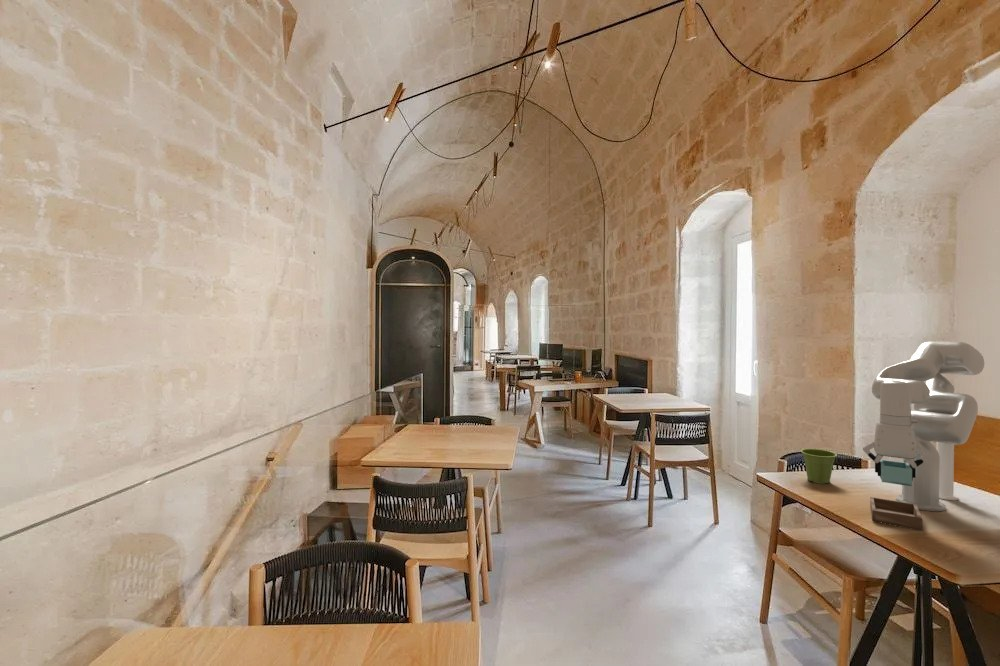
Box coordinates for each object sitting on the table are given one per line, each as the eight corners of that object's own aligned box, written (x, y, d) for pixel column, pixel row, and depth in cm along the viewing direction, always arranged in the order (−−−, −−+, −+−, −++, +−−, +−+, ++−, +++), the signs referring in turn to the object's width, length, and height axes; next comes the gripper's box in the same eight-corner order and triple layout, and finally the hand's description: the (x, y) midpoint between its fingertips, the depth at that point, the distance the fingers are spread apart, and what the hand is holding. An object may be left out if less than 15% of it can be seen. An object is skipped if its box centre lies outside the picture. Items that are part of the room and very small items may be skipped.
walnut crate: (870, 507, 160) (870, 496, 160) (916, 515, 154) (916, 504, 154) (872, 521, 149) (872, 510, 148) (922, 530, 142) (922, 518, 142)
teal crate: (879, 475, 156) (879, 459, 156) (907, 478, 152) (907, 463, 152) (882, 482, 148) (882, 465, 148) (911, 486, 144) (912, 469, 144)
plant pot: (794, 476, 194) (794, 448, 194) (823, 476, 194) (823, 448, 194) (813, 486, 182) (813, 456, 182) (844, 486, 182) (844, 456, 182)
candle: (930, 492, 175) (931, 423, 175) (957, 496, 171) (958, 426, 171) (931, 497, 170) (932, 426, 170) (959, 502, 165) (960, 429, 165)
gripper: (930, 422, 149) (929, 479, 149) (860, 415, 159) (859, 469, 159) (934, 425, 143) (933, 485, 143) (860, 419, 153) (860, 475, 153)
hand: (894, 476), depth 151 cm, fingers closed on teal crate, 7 cm apart
